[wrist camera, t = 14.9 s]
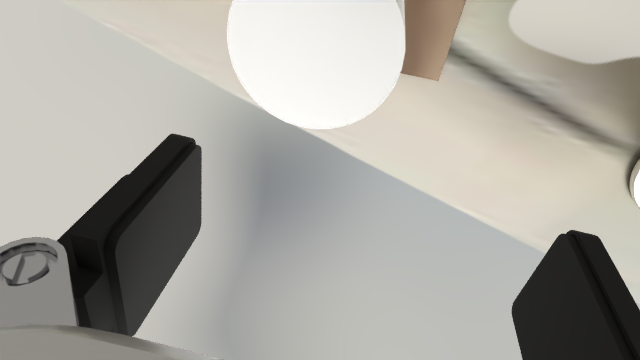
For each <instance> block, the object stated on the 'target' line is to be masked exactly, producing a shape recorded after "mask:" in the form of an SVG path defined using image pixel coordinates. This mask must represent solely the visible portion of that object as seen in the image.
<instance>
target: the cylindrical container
mask: <svg viewBox="0 0 640 360" xmlns="http://www.w3.org/2000/svg"><path fill="white" fill-rule="evenodd" d="M227 41H228V50H229V54H230V58H231V62H232V65H233V68H234V70H235V72H236V74H237V76H238V79H239V81H240V82H241V84H242V85H243V87H244V88H245V90H246V91H247V93H248V94H249V95H250V96H251V97H252V98H253V99H254V100H255V101H256V102H257V104H259V105H260V106H261V107H262V108H264V109H265V110H266V111H267V112H269V113H270V114H272V115H273V116H275V117H277V118H279V119H281V120H283V121H284V122H287V123H290V124H293V125H296V126H299V127H304V128H311V129H333V128H338V127H342V126H346V125H349V124H352V123H354V122H356V121H359V120H361V119H363V118H364V117H366V116H367V115H369V114H370V113H372V112H373V111H374V110H375V109H376V108H377V107H378V106H379V105H380V104H382V103H383V102H384V101H385V100H386V98H387V97H388V95H389V94H390V92H391V91H392V89H393V88H394V86H395V84H396V82H397V80H398V77H399V75H400V72H401V70H402V66H403V61H404V56H405V50H406V49H405V9H404V0H233V2H232V5H231V8H230V10H229V17H228V24H227Z"/></svg>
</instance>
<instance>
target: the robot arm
mask: <svg viewBox="0 0 640 360" xmlns="http://www.w3.org/2000/svg"><path fill="white" fill-rule="evenodd" d="M630 192H631V196H632V198H633V199H634V201H635V203H636V204H637V205H638V207H639V208H640V159H639V160H638V161H637V163H636V165H635V167H634V169H633V170H632V174H631V177H630ZM200 227H201V147H200V146H199V145H196V143H195V140H194V139H193V138H189V137H185V136H181V135H177V134H170V135H169V136H168V137H167V138H166V139H165V140H164V141H163V142H162V143H161V144H160V145H159V146H158V147H157V148H156V149H155V150H154V151H153V152H152V153H151V154H150V155H149V156H148V157H147V158H146V159H144V161H142V162H141V163H140V165H138V166H137V167H136V168H135V169H134V170H133V171H132V172H131V173H130V174H129V175H125V176H124V177H122V178H121V179H120V180H119V181H118V182H117V183H116V184H115V185H114V186H113V187H112V188H111V189H110V190H109V191H108V192H107V193H106V194H105V195H104V196H103V197H102V198H101V199H99V200H98V201H97V202H96V203H95V204H94V205H93V207H91V208H90V209H89V210H88V211H87V212H86V213H85V214H84V215H83V216H82V217H81V218H80V219H79V220H78V221H77V222H76V223H75V224H74V225H73V226H72V227H71V228H70V229H69V230H68V231H66V232H65V233H64V234H63V235H62V236H61V237H60V239H58V240H57V241H55V240H52V239H49V238H41V237H32V238H24V239H20V240H17V241H13V242H10V243H8V244H6V245H4V246H2V247H0V360H223V359H218V358H215V357H211V356H208V355H204V354H200V353H196V352H192V351H188V350H184V349H180V348H176V347H172V346H168V345H164V344H160V343H155V342H151V341H147V340H143V339H139V338H135V337H132V336H133V335H134V334H135V333H136V332H137V330H138V329H139V327H140V326H141V324H142V323H143V321H144V319H145V318H146V316H147V315H148V313H149V311H150V309H151V308H152V307H153V305H154V304H155V302H156V300H157V299H158V297H159V296H160V294H161V292H162V291H163V289H164V288H165V286H166V284H167V283H168V281H169V280H170V278H171V277H172V275H173V273H174V272H175V270H176V269H177V267H178V265H179V264H180V262H181V261H182V259H183V258H184V256H185V254H186V253H187V251H188V249H189V248H190V246H191V245H192V243H193V242H194V240H195V239H196V237H197V235H198V233H199V230H200ZM512 317H513V321H514V325H515V329H516V333H517V338H518V342H519V346H520V350H521V354H522V358H523V360H640V310H639V308H638V306H637V305H636V303H635V301H634V299H633V297H632V296H631V294H630V292H629V290H628V288H627V287H626V285H625V283H624V281H623V279H622V278H621V276H620V274H619V272H618V270H617V269H616V267H615V265H614V263H613V261H612V260H611V258H610V256H609V254H608V252H607V251H606V249H605V247H604V245H603V243H602V242H601V240H600V239H599V237H598V236H595V235H592V234H588V233H583V232H579V231H575V230H570V231H568V232H567V233H566V234H560V235H559V236H558V237H557V238H556V240H555V241H554V243H553V244H552V246H551V247H550V249H549V250H548V252H547V253H546V255H545V256H544V258H543V259H542V261H541V262H540V264H539V265H538V267H537V268H536V270H535V271H534V273H533V274H532V276H531V277H530V279H529V280H528V281H527V283H526V284H525V286H524V287H523V289H522V290H521V292H520V293H519V295H518V296H517V298H516V299H515V301H514V303H513V306H512Z"/></svg>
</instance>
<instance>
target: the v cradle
mask: <svg viewBox="0 0 640 360" xmlns="http://www.w3.org/2000/svg"><path fill="white" fill-rule="evenodd" d="M465 2H466V0H404V9H405V49H406V50H405V56H404V61H403V66H402V70H401V72H400V73H403V74H408V75H413V76H417V77H422V78H427V79H431V80H436V81H438V80H439V77H440V74H441V72H442V69H443V66H444V63H445V60H446V57H447V54H448V51H449V48H450V45H451V42H452V39H453V37H454V34H455V31H456V28H457V25H458V22H459V19H460V16H461V13H462V10H463V7H464V4H465Z"/></svg>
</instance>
